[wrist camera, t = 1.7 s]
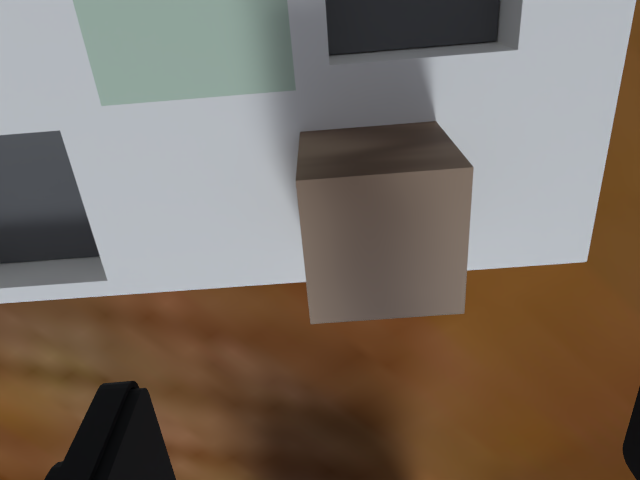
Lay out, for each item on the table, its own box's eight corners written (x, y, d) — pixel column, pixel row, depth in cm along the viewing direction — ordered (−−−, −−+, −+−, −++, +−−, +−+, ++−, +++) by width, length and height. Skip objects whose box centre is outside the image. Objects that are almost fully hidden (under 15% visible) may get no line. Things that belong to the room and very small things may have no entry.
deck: (631, -210, 16) (724, -263, 13) (561, 234, 24) (607, 283, 20) (-240, -127, 17) (-393, -154, 13) (-46, 278, 25) (-110, 333, 21)
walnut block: (435, 121, 19) (473, 167, 14) (432, 241, 21) (463, 313, 17) (299, 131, 19) (295, 180, 14) (311, 250, 21) (310, 324, 17)
